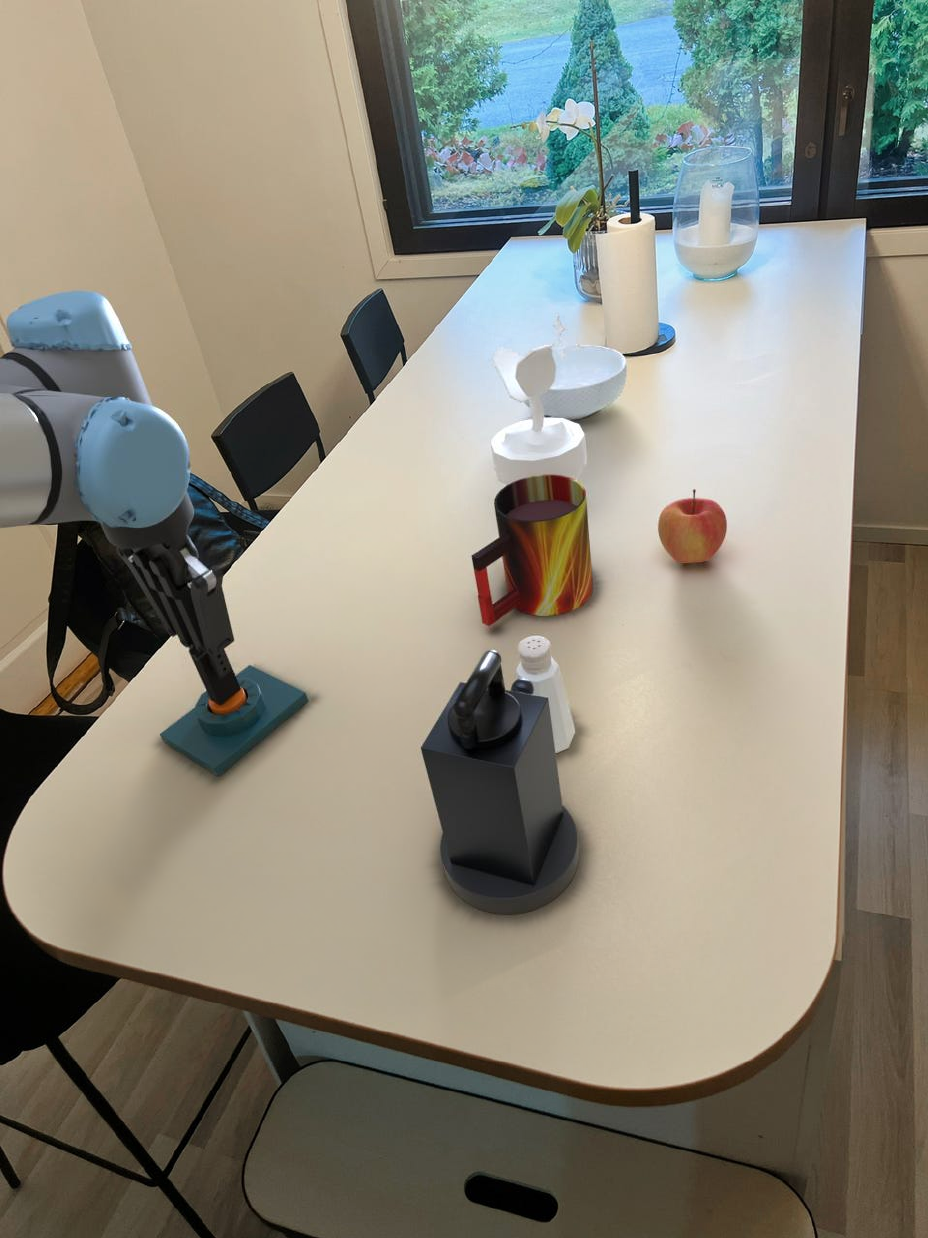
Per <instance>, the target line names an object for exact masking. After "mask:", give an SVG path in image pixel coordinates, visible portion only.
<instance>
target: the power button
mask: <svg viewBox="0 0 928 1238" xmlns="http://www.w3.org/2000/svg"><path fill="white" fill-rule="evenodd" d="M240 688H241V687H240ZM246 701H247V697H246V695H245V692H244V690H243V689H242V688H241V690H239V691H238V692H237V693H236V694H234V695H233V696H232V697H231V698H229V699H228V700H227V701H225V702H224V703H223V704H222V705H218V704H216V703H215V702H213V701H211V699H209V706H210V708H211V710H212V713H213V714H214V715H226V714H229V713H232V712H234V711H237V710H238V709H239V708H240V707H242V706H243V705H244V704H245V703H246Z"/></svg>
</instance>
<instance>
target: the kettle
mask: <svg viewBox="0 0 928 1238" xmlns="http://www.w3.org/2000/svg"><path fill="white" fill-rule="evenodd" d="M502 661H503V659H502V655H501V654H500V652H499V651H497V650H495V649H488V650H486V651H485V652H483V654H482V655H481V657H480V658H479V660H478V662H477V664H476V666H475V667H474V669H473V670H472V672H471V674H470V675H469V677H468V679H467V680H466V682H463V681H460V682H459V683H458V685H457V687H456V688H455V690H454V692H453V693H452V695H451V697H450V698H449V700H448V701H447V703H446V705H445V706H444V708H443V710H442V712H441V713H440V715H439V716H438V718H437V720H436V721H435V723H434V725H433V726H432V728H431V730H430V732H429V733H428V735H427V736H426V738H425V739H424V741H423V743H422V745H421V746H420V752H421V755H422V759H423V763H424V766H425V769H426V775H427V778H428V782H429V785H430V789H431V793H432V797H433V800H434V804H435V808H436V812H437V815H438V819H439V824H440V826H441V831H442V833H443V835H444V839H445V843H446V847H447V850H448V854H449V858H450V862H451V863H453V864H457V865H461V866H464V867H468V868H472V869H475V870H479V871H483V872H487V873H490V874H494V875H498V876H501V877H505V878H509V879H512V880H516V881H520V882H523V883H527V884H531V885H535V883H536V880H537V878H538V875H539V873H540V870H541V868H542V866H543V863H544V861H545V858H546V856H547V853H548V851H549V849H550V846H551V844H552V841H553V839H554V837H555V834H556V832H557V829H558V827H559V824H560V822H561V820H562V817H563V808H562V805H563V801H562V794H561V786H560V785H561V784H560V777H559V770H558V762H557V753H555V746H554V738H553V730H552V723H551V715H550V707H549V699H548V697H542V696H537V695H533V693H534V687H533V684H532V683H531V681H529V680H528V679H525V678H520V679H517V680H516V679H515V680H514V681H513V682H512V684H511V686H510V690H508V689H506V685H505V679H504V675H503V674H504V673H503V668H502Z"/></svg>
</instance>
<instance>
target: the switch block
mask: <svg viewBox="0 0 928 1238" xmlns="http://www.w3.org/2000/svg"><path fill="white" fill-rule="evenodd" d="M235 676H236V678H237V681H238V683H239V685H240V687H241V688H242V689H243V690H244V692H245V695H246V697H247V701H246V703H245V704H244V705H243V706H242V707H240V708H239V709H238V710H237V711H234V712H232V713H229V714H226V715H214V714H213V713H212V710H211V708H210V706H209V699H210V697H209V695H208V693H207V691H206V690H205V691H204V692H202V693H201V694H200V696H199V698H198V700H197V702H196V703H195V705H194V707H193V708H192V709H190V710H189V711H188V712H187V713H185V714H184V715H182V716H181V717H180V718H179V719H177V720H176V721H174V722H173V723H172V724H171V725H170V726H168V727H167V728H165V730H163V731H162V732H161V733H159V736H160V739H161V740H162V742H163V743H164V744H166V745H167V746H169V747H170V748H171V749H173V750H174V751H176V752H178V753H180V754H181V755H182V756H184V757H186V758H188V759H190V760H191V761H192V762H194V763H196V764H197V765H199V766H200V767H202V768H203V769H205V770H207V772H209V773H211V774H212V775H214V776H216V777H218V778H219V777H220V776H221V775H223V774H224V773H225V772H226V771H227V770H228V769H229V768H230V767H232V766H233V765H234V764H235V763H237V762H238V761H239V760H240V759H241V758H243V757H244V756H245V755H246V754H247V753H248V752H249V751H251V750H252V749H254V748H255V747H256V746H257V745H258V744H259V743H261V741H263V740H264V739H266V738H267V737H268V736H269V735H270V734H271V733H272V732H274V730H276V729H277V728H278V727H279V726H280V725H282V724H283V723H284V722H285V721H286V720H287V719H289V718H290V717H292V716H293V715H294V714H295V713H296V712H297V711H298V710H300V709H301V708H302V707H303V706H304V705H305V704H307V703H308V702H309V697H308V696H307V693H306V692H305V691H303V690H301V689H300V688H297V687H295V686H294V685H291V684H290V683H288V682H285V681H284V680H282V679H280V678H277V677H275V676H274V675H272V674H270V673H267V672H266V671H263V670H261V669H259V668H257V667H255V666H253V665H251V664H249V665H247V666H246V667H245V668H244V669H242V670H241V671H239V673H237V674H235Z"/></svg>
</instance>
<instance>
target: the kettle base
mask: <svg viewBox="0 0 928 1238" xmlns="http://www.w3.org/2000/svg"><path fill="white" fill-rule="evenodd" d="M562 808H563V817H562V820H561V822H560V824H559V827H558V829H557V832H556V834H555V837H554V839H553V841H552V844H551V846H550V849H549V851H548V853H547V856H546V858H545V861H544V863H543V866H542V868H541V870H540V873H539V875H538V878H537V880H536V883H535V885H531V884H527V883H523V882H520V881H516V880H512V879H509V878H505V877H501V876H498V875H494V874H490V873H487V872H483V871H479V870H475V869H472V868H468V867H464V866H461V865H457V864H453V863H451V862H450V858H449V854H448V850H447V847H446V843H445V839H444V835H443V832H442V833H441V838H440V845H439V850H440V858H441V862H442V866H443V870H444V873H445V876H446V880H447V881H448V883H449V886H450V888H451V889H452V890H453V891H454V892H455V894H456V895H457V896H458V897H459V898H461V900H462V901H464V902H465V903H467V904H469V905H470V906H471V907H474V908H476V909H478V910H480V911H482V912H487V913H490V914H496V915H518V914H524V913H528V912H531V911H534V910H537V909H539V908H542V907H544V906H546V905H547V904H550V903H552V901H554V900H555V899H557V898H558V897H559V896H560V895H561V894H562V893H563V892H564V891H565V890H566V889H567V887H568V886H569V885H570V884H571V882H572V880H573V879H574V877H575V875H576V872H577V870H578V865H579V862H580V845H579V836H578V835H579V834H578V829H577V826H576V823H575V820H574V818H573V816H572V815H571V813H570V812H569V810H568V809H567V808H566V807H565V806H564V805H563V804H562Z"/></svg>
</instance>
